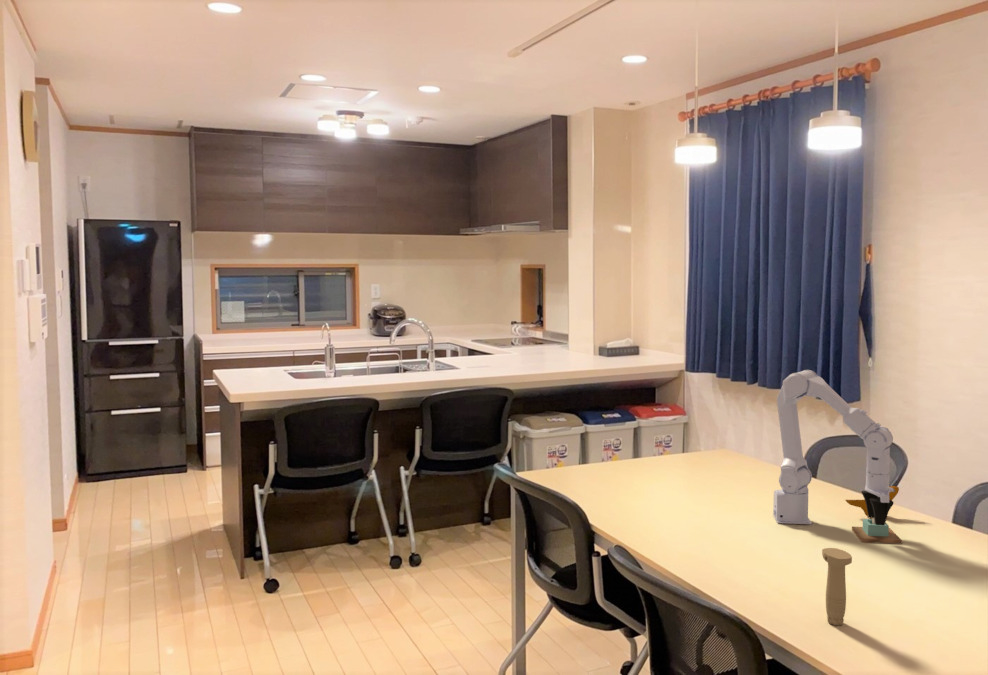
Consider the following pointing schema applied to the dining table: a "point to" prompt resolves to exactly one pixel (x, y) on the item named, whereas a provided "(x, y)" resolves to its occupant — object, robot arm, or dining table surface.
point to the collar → (875, 528)
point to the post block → (884, 539)
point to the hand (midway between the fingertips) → (876, 520)
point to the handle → (836, 584)
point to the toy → (863, 504)
